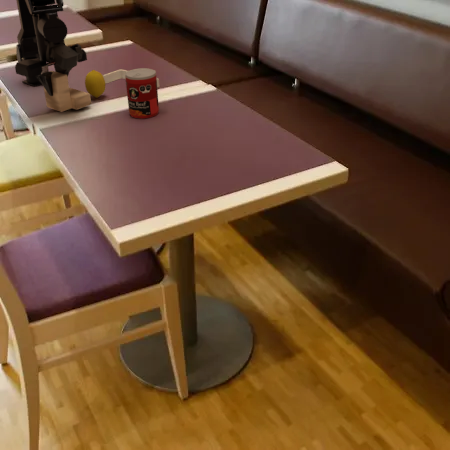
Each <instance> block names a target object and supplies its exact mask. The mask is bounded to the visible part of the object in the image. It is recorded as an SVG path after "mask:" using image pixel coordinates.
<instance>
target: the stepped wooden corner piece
mask: <svg viewBox="0 0 450 450" xmlns="http://www.w3.org/2000/svg"><path fill="white" fill-rule="evenodd" d="M50 72H53V73H52V75H51V83H52V88H53V96H50V95H49V94H48V92H47V91H46V89H45V88H44V87H43V91H44V97H45V104H46V107H47V108H49V109H51V110H52V109H53V110H55V111H58V112H61V113H62V112H65V111H67V110H71V109H73V110H79V109H84V107H88V106H90V105H91V106H92V100H91V95H90V94H89V93H88V92H85V91H83V90H79V89H75V88H71V87H70V85H69V78H68V77H69V76H68V77H67V75H66V74H62V73H59V72H55V70H50Z"/></svg>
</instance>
